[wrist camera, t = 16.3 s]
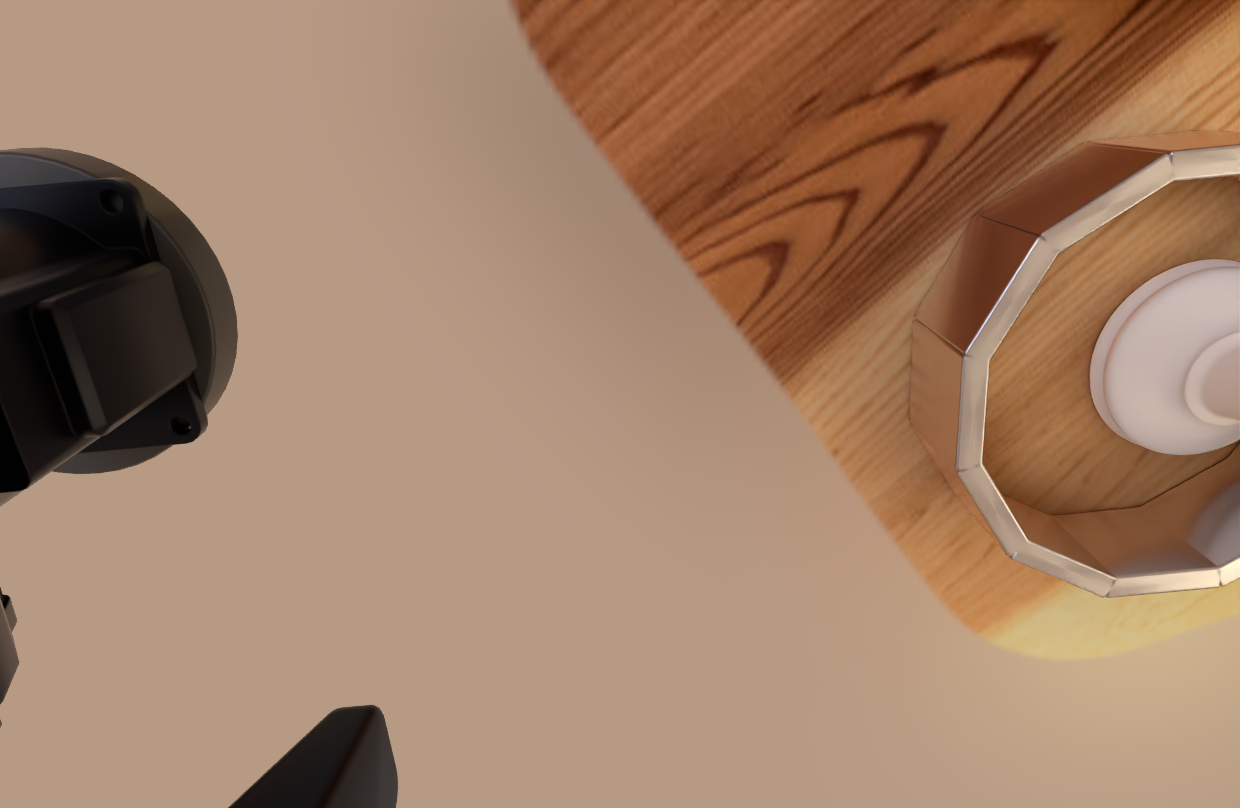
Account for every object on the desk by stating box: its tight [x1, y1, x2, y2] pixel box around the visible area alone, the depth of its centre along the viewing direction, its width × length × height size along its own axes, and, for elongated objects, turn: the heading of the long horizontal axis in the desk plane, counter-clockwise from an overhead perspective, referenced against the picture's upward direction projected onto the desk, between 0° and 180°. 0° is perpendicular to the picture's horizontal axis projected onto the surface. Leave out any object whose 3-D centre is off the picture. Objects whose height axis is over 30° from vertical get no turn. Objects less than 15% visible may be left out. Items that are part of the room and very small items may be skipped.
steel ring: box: [909, 130, 1240, 598], centre depth 19 cm, size 10×10×3 cm
